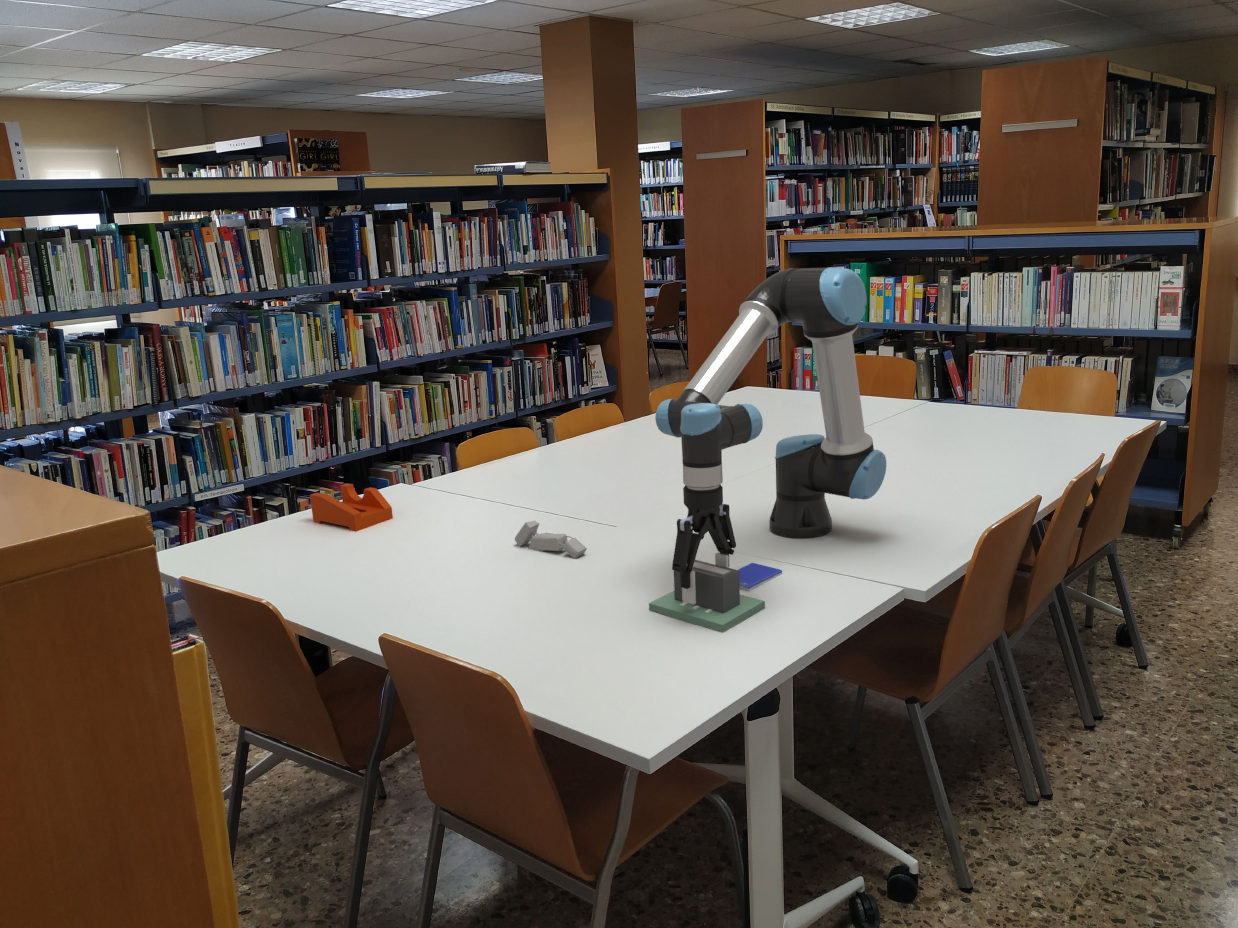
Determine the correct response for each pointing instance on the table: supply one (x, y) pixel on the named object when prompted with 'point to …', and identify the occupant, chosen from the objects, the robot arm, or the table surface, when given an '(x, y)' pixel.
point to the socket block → (712, 586)
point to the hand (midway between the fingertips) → (706, 593)
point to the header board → (707, 612)
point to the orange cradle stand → (351, 508)
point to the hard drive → (756, 575)
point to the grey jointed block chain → (548, 540)
